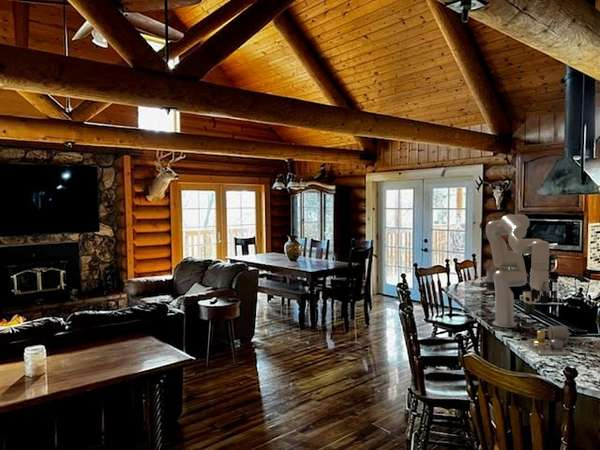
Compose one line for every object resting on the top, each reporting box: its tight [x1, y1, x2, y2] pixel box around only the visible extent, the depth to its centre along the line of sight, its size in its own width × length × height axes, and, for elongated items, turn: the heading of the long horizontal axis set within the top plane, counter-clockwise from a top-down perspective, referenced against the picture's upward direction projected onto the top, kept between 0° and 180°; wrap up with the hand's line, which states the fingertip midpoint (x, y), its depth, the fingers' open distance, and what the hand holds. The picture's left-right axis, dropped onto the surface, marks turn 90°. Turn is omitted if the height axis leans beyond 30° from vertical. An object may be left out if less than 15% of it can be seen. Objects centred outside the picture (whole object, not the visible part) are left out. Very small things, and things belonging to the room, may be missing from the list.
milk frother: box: [478, 269, 498, 291], centre depth 360 cm, size 14×16×15 cm
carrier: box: [520, 338, 570, 356], centre depth 212 cm, size 17×14×5 cm
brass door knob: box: [533, 329, 549, 345], centre depth 214 cm, size 7×7×7 cm
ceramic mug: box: [547, 325, 570, 345], centre depth 222 cm, size 11×8×8 cm
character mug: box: [519, 291, 540, 314], centre depth 278 cm, size 11×7×13 cm, turn 73°
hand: (539, 300), depth 217 cm, fingers open, 9 cm apart
